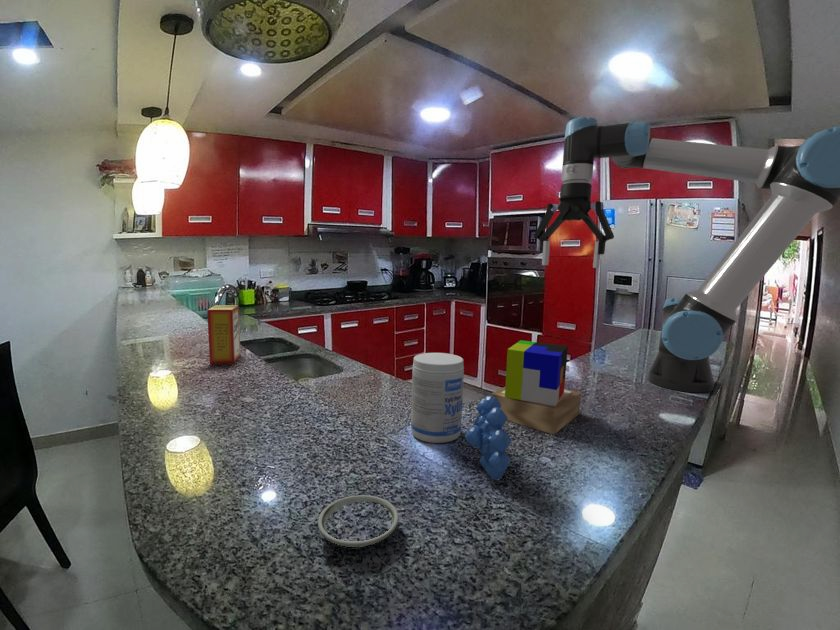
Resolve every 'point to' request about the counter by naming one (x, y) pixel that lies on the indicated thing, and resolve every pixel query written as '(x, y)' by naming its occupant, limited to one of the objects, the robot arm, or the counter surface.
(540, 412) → the oak picture frame
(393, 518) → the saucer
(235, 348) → the baking soda box
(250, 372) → the counter surface
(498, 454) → the grapes
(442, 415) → the supplement tub
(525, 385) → the puzzle toy
